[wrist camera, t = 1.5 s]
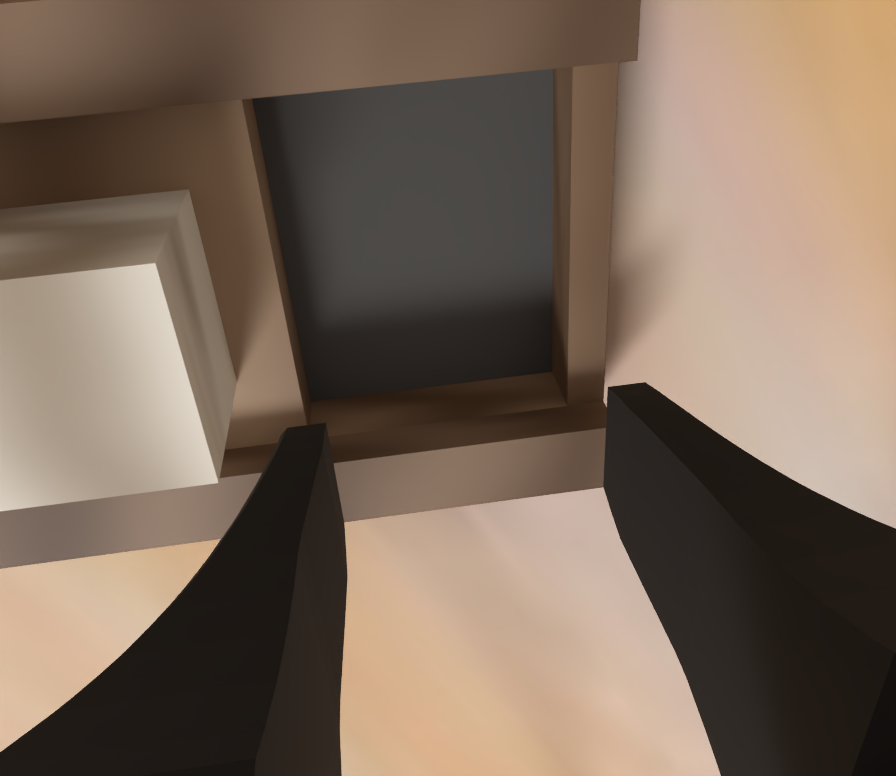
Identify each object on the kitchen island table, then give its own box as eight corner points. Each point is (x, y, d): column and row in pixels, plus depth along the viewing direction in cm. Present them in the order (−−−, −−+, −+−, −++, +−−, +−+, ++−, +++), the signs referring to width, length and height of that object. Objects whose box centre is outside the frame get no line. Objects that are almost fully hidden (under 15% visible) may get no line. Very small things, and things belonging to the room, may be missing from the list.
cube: (33, 407, 20) (-28, 515, 17) (-49, 214, 17) (-141, 295, 14) (237, 382, 20) (218, 482, 17) (188, 189, 17) (155, 262, 14)
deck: (-310, 534, 23) (-395, 622, 20) (-691, 49, 16) (-898, 83, 13) (582, 419, 25) (613, 485, 22) (595, -64, 18) (643, -54, 15)
